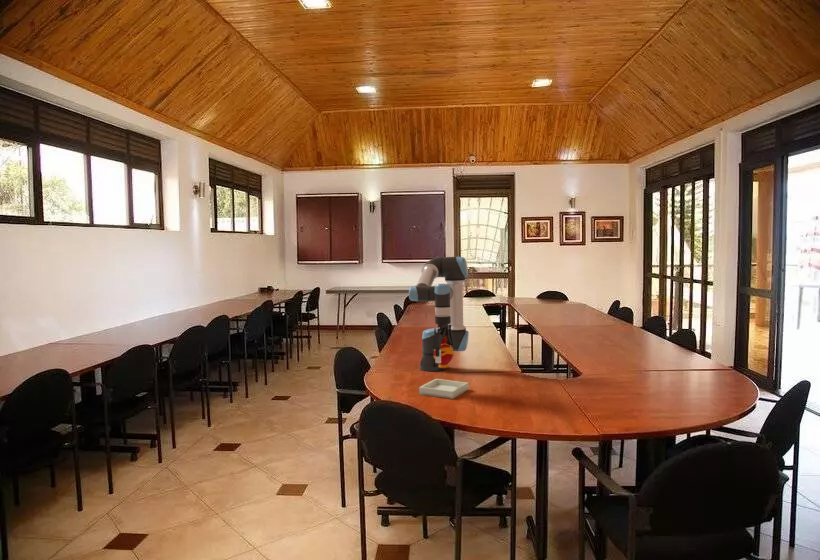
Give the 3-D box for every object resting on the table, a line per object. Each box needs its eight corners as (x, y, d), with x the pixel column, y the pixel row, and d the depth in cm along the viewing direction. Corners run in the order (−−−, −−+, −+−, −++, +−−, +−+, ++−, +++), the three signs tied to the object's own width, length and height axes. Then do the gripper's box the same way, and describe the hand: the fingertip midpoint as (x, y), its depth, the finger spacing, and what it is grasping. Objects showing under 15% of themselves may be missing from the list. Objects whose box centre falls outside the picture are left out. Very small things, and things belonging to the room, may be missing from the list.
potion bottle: (436, 369, 256) (436, 338, 255) (430, 365, 266) (429, 335, 265) (457, 367, 259) (457, 337, 258) (450, 363, 269) (449, 333, 268)
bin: (436, 385, 275) (436, 378, 275) (468, 389, 266) (468, 382, 266) (419, 394, 260) (418, 387, 260) (452, 399, 251) (452, 391, 251)
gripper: (446, 312, 272) (447, 355, 274) (424, 318, 253) (425, 364, 254) (459, 313, 269) (460, 356, 270) (438, 319, 249) (439, 366, 250)
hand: (443, 360), depth 262 cm, fingers closed on potion bottle, 10 cm apart
